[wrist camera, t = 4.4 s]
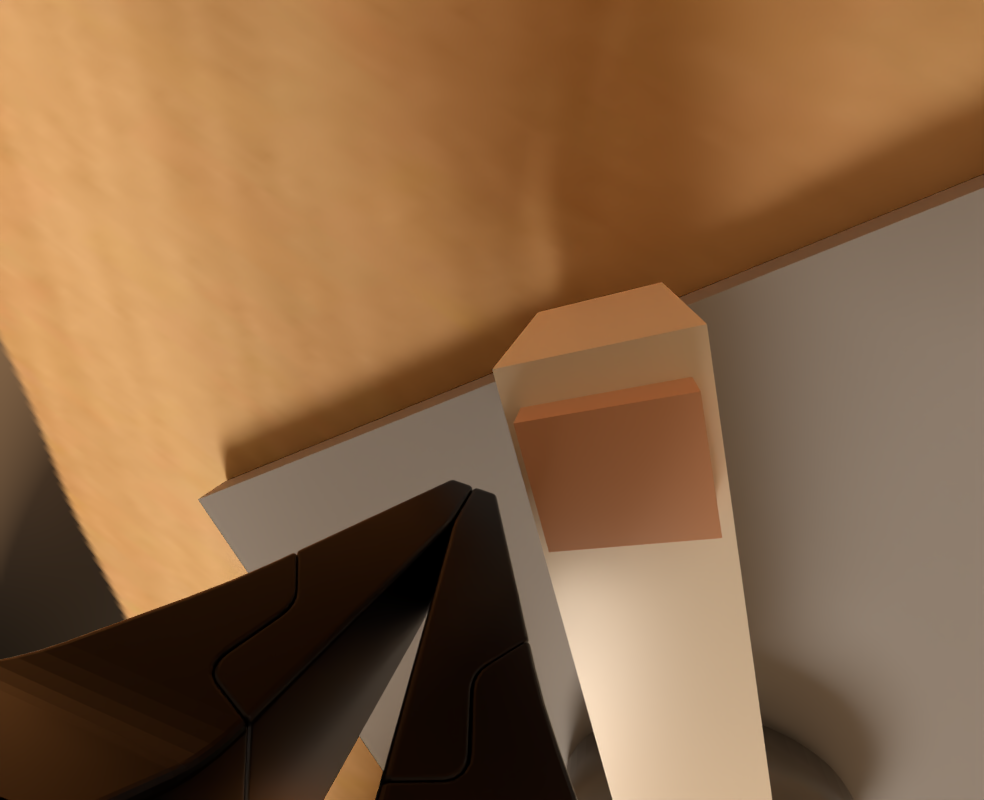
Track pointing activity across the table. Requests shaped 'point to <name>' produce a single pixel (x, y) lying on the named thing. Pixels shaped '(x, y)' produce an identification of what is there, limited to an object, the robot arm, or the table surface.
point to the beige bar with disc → (646, 553)
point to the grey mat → (761, 499)
